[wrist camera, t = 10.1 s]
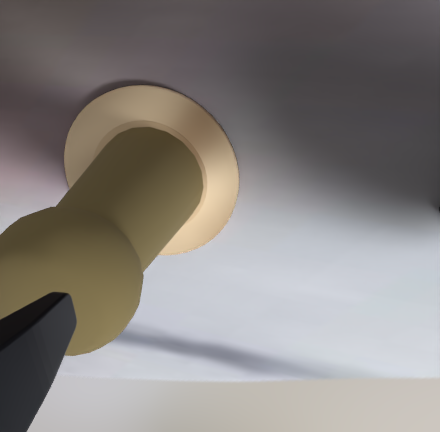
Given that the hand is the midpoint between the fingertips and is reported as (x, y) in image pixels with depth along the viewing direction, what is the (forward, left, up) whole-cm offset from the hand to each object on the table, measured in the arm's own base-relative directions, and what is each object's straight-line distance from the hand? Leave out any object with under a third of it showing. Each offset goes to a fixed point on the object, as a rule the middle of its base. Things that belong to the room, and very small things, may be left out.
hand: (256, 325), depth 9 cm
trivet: (+5, +5, -13) cm, 15 cm away
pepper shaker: (+5, +5, -13) cm, 14 cm away
